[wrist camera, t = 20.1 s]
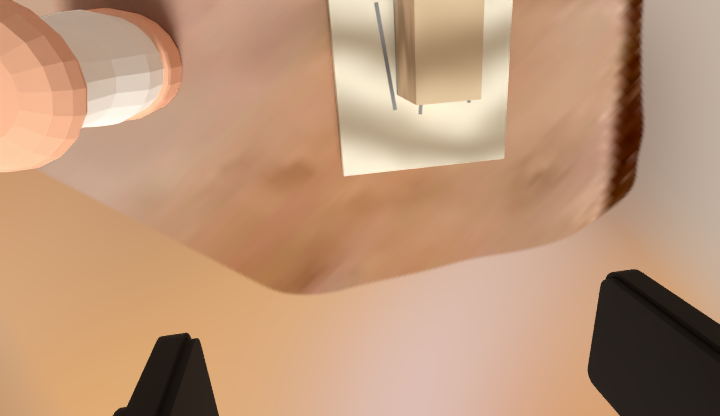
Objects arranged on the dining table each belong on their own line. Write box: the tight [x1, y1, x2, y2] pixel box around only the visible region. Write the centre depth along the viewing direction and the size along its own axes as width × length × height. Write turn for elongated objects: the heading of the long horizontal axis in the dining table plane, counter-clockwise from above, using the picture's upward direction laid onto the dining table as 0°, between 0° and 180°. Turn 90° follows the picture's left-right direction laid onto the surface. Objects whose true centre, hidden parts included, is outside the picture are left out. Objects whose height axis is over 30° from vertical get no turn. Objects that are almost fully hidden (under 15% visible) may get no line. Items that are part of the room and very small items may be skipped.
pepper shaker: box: [0, 0, 182, 172], centre depth 24 cm, size 7×7×19 cm
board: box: [327, 0, 513, 176], centre depth 34 cm, size 20×14×2 cm
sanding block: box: [393, 0, 484, 105], centre depth 31 cm, size 7×4×6 cm, turn 4°
